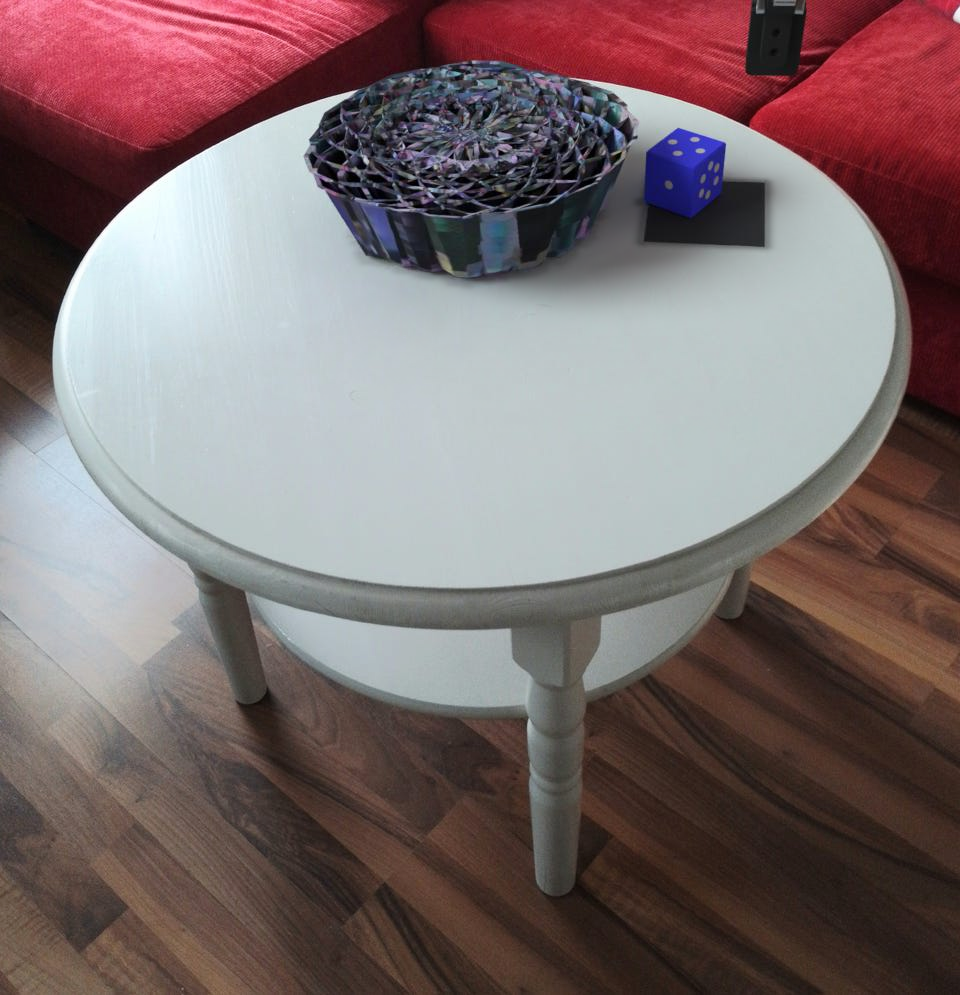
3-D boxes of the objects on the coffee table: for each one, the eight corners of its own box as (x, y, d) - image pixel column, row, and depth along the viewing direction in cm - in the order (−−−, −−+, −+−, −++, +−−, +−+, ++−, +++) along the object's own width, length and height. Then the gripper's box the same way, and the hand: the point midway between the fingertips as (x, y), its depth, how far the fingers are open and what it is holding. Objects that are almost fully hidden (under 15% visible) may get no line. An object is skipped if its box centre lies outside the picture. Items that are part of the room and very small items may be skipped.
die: (643, 202, 98) (645, 151, 94) (674, 177, 100) (677, 126, 96) (691, 219, 95) (695, 167, 92) (721, 193, 98) (727, 142, 94)
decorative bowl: (404, 144, 111) (384, 47, 104) (671, 159, 101) (669, 53, 95) (284, 290, 95) (252, 187, 88) (589, 324, 86) (579, 212, 79)
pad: (764, 183, 99) (764, 182, 98) (764, 247, 92) (764, 246, 92) (652, 179, 100) (652, 178, 100) (643, 242, 94) (643, 241, 93)
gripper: (904, -244, 50) (837, 130, 63) (882, -318, 60) (828, 19, 73) (736, -238, 51) (705, 127, 65) (741, -312, 61) (713, 18, 75)
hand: (770, 69), depth 69 cm, fingers closed
